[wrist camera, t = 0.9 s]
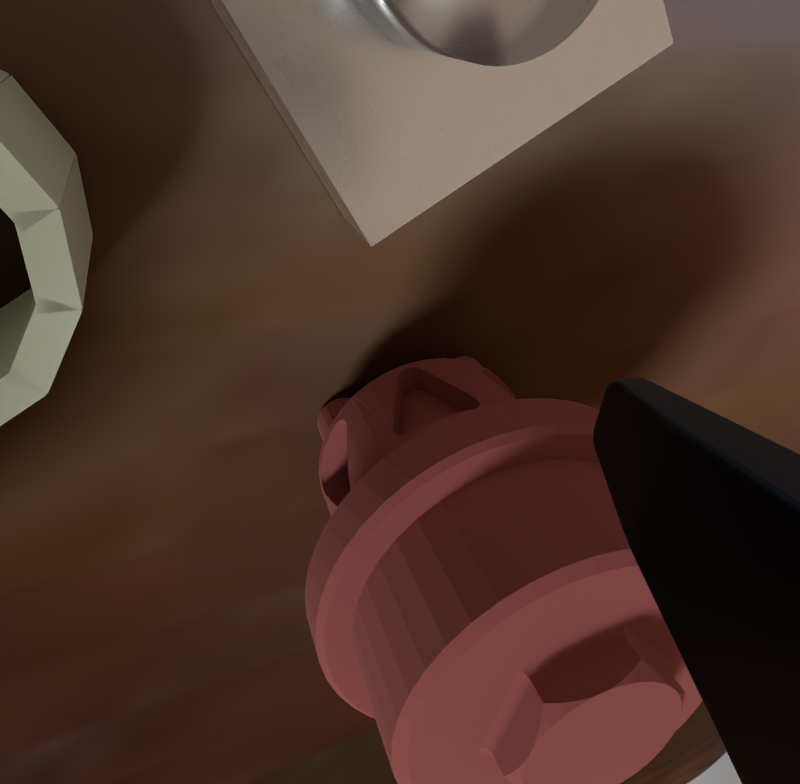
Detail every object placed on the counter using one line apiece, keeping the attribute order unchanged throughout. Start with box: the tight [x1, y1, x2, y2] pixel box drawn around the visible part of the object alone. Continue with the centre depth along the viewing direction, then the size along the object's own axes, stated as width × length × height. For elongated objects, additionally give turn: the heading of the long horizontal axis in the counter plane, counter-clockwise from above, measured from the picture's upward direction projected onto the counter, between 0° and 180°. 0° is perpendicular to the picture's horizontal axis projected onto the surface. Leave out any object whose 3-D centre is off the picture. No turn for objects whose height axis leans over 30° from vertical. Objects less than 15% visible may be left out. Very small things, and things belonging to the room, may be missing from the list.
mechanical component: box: [305, 356, 702, 784], centre depth 19 cm, size 12×10×10 cm
